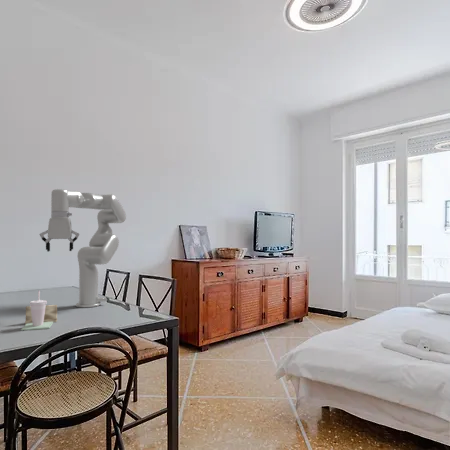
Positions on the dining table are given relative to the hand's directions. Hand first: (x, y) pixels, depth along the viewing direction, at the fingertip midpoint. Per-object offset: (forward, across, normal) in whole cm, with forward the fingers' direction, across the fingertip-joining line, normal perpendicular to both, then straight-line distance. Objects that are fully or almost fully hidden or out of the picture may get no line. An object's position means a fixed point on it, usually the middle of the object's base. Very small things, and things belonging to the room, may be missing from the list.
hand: (59, 251), depth 169 cm
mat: (+30, +5, +22) cm, 38 cm away
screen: (+30, +5, +14) cm, 34 cm away
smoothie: (+30, +5, +22) cm, 37 cm away
